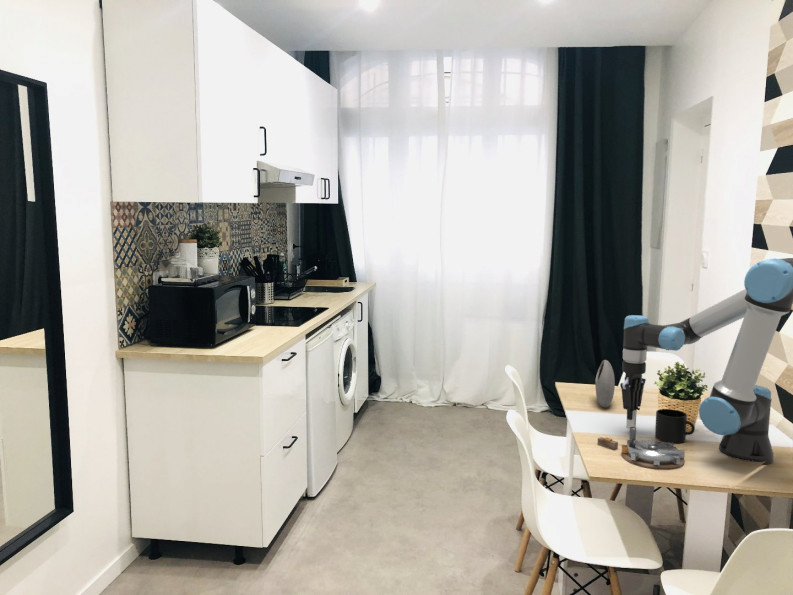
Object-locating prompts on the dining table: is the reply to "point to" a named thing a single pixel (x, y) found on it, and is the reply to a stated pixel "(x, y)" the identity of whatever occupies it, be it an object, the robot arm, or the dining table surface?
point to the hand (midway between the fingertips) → (630, 428)
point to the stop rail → (608, 443)
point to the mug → (671, 426)
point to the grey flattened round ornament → (605, 384)
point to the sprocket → (651, 450)
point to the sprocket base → (651, 465)
